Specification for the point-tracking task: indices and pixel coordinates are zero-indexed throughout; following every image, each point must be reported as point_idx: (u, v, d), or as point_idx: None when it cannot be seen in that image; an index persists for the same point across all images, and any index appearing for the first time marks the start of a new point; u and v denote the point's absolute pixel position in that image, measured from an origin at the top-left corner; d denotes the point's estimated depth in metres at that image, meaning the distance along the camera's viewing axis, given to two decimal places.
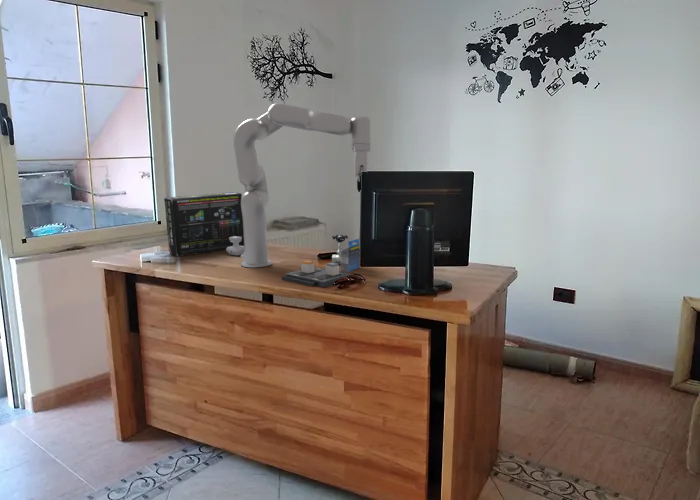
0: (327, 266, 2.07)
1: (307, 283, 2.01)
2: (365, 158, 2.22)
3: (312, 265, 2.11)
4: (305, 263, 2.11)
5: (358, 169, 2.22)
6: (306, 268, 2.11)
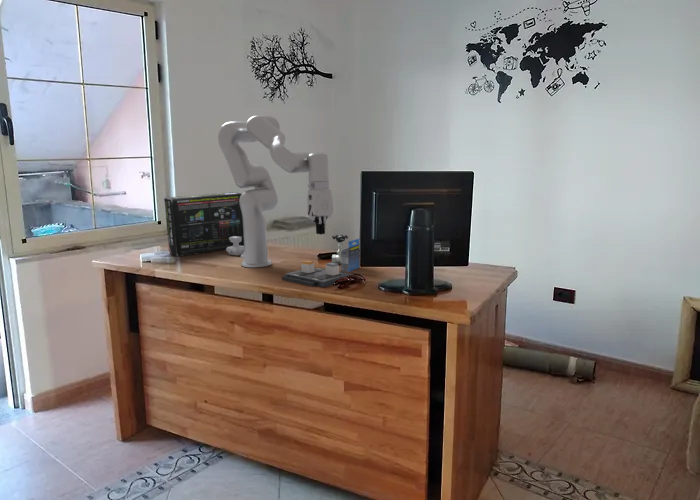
0: (327, 266, 2.07)
1: (307, 283, 2.01)
2: None
3: (312, 265, 2.11)
4: (305, 263, 2.11)
5: None
6: (306, 268, 2.11)
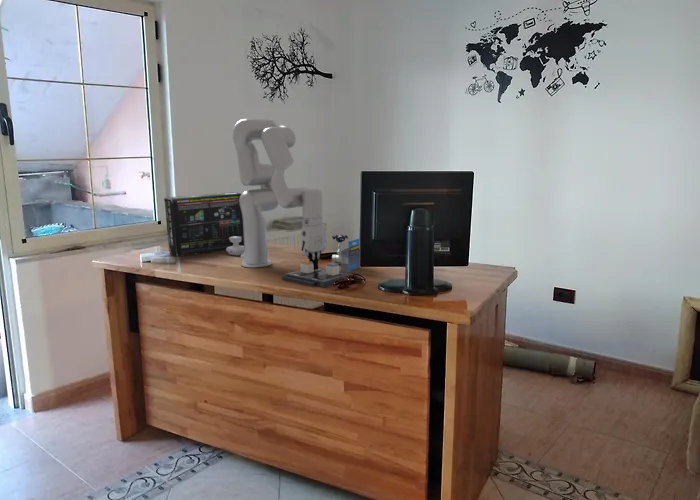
0: (327, 266, 2.07)
1: (307, 283, 2.01)
2: None
3: (311, 265, 2.11)
4: (304, 263, 2.11)
5: None
6: (306, 269, 2.10)
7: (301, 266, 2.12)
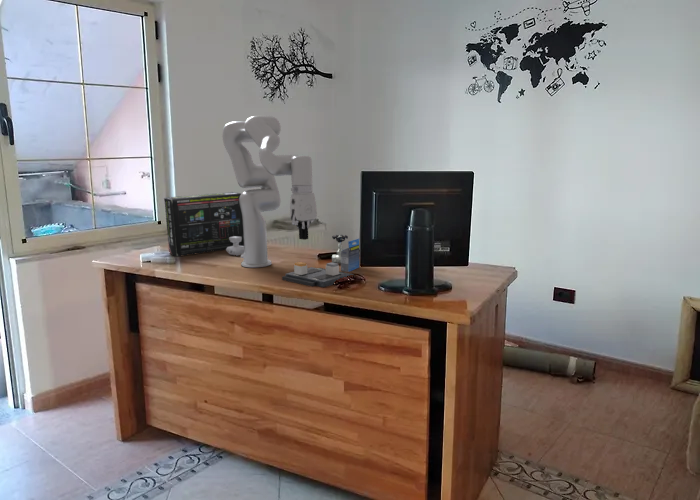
0: (327, 266, 2.07)
1: (307, 283, 2.01)
2: None
3: (305, 267, 2.09)
4: (298, 265, 2.08)
5: None
6: (299, 270, 2.08)
7: (295, 268, 2.09)
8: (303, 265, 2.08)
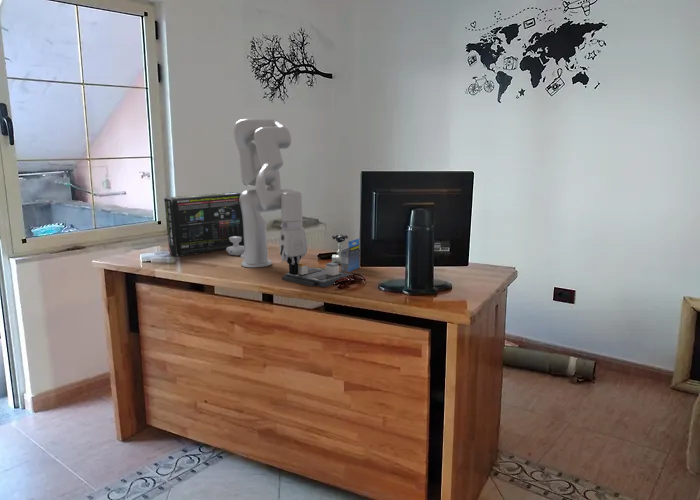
0: (327, 266, 2.07)
1: (307, 283, 2.01)
2: None
3: (305, 267, 2.09)
4: (298, 265, 2.08)
5: None
6: (300, 270, 2.08)
7: None
8: (303, 265, 2.08)
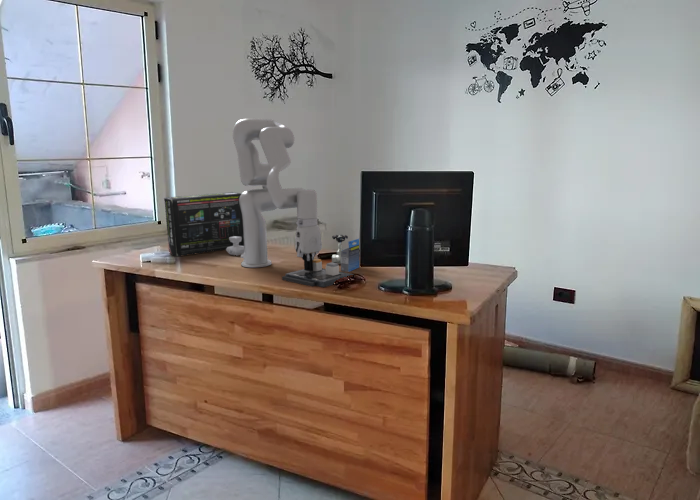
0: (327, 266, 2.07)
1: (307, 283, 2.01)
2: None
3: (320, 263, 2.14)
4: (313, 261, 2.14)
5: None
6: (314, 266, 2.14)
7: None
8: (318, 261, 2.14)
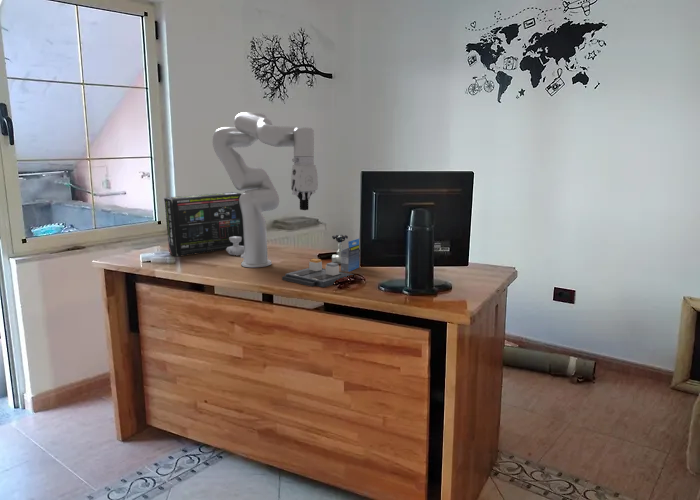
0: (327, 266, 2.07)
1: (307, 283, 2.01)
2: None
3: (320, 263, 2.14)
4: (313, 261, 2.14)
5: None
6: (314, 266, 2.14)
7: (310, 264, 2.15)
8: (318, 261, 2.14)
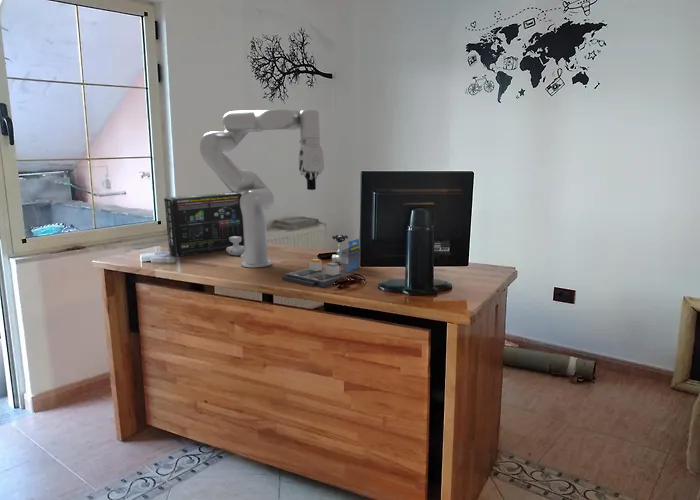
0: (327, 266, 2.07)
1: (307, 283, 2.01)
2: None
3: (320, 263, 2.14)
4: (313, 261, 2.14)
5: None
6: (314, 266, 2.14)
7: (310, 264, 2.15)
8: (318, 261, 2.14)
